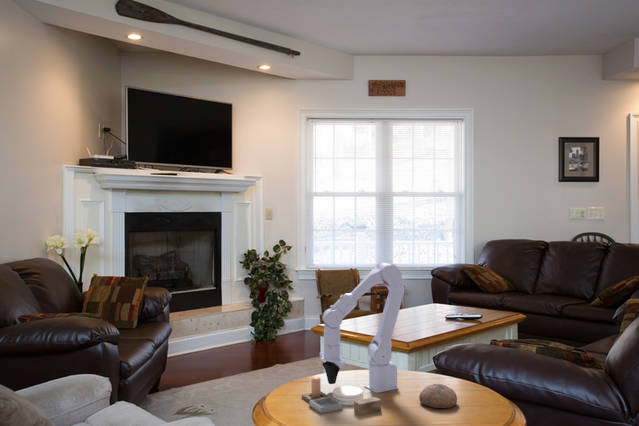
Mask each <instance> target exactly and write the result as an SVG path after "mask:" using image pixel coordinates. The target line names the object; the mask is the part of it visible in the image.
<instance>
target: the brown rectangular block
mask: <svg viewBox="0 0 639 426" xmlns="http://www.w3.org/2000/svg"><path fill="white" fill-rule="evenodd" d="M381 411H382V399H380V397H379V398H378V397H377V396H374V397H368V398H363V400H358V401H354V405H353V412H354V413H355V414H356V415H357V416H363V415H368V414H373V413H377V412H381Z"/></svg>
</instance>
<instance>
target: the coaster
mask: <svg viewBox="0 0 639 426" xmlns="http://www.w3.org/2000/svg"><path fill="white" fill-rule="evenodd" d="M363 394H364V391H363V389H362V388H360V387H359V386H358V387H357V386H353V385H340V386H337V387H335V388H334V389H333V391H332V398H334V399H335V400H337V401H339V402H340V403H342V406H354V401H358V400H363V399H364V395H363Z"/></svg>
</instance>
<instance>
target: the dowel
mask: <svg viewBox="0 0 639 426" xmlns="http://www.w3.org/2000/svg"><path fill="white" fill-rule="evenodd" d="M310 387H311V392H310V393H311V398H313V399H315V398H320V397H321V392H322V391H321V377H320V376H313V377H311V386H310Z"/></svg>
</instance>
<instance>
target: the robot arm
mask: <svg viewBox="0 0 639 426" xmlns="http://www.w3.org/2000/svg"><path fill="white" fill-rule="evenodd" d="M380 284H381V285H382V284H384V285H385V286H386V288H387V290H388V293H387V294H388V295H387V298H386V301H385V303H384V307H383V312H382V314H381V318H380V322H379V325H378V329H377V332H376V334H375V335H374V336H373V339H372V341H371V342H370V344H369V345H368V347H367V353H368V356H369V357H370V359H369V361H368V373H369V374H368V384H364V386H363V387H364V388H366V389H368V390H370V391H372V392H374V393H377V394H378V393H379V394H380V393H383V392H388V391H389V392H390V391H394V390H398V389H399V386H398V369H397V368H398V367H397V365H396V364H395V362H393V361H392V360H391V359H392V355H393V354H392V346H393V343H392V337H393V333H394V329H395V326H396V322H397V318H398V315H399V312H400V308H401V305H402V302H403V298H404V294H405V288H406V287H405V285H404V280H403V272H401V270H400V269H399V267H398V266H397V265H395V264H391V263H388V262H385V261H382V262H379V263H378V264H377V266H376V267H374V268H371V271H369V273H368V274H366V275H365V277H364V278H363V279H362V280H361V281H360V282H359V283H358V284H357V286H356V287H355V288H354V289H353V290H352V291H351V292H348V293H347V292H345V293H344V294H341V295H339V299H338V300H337V301H336V302H335V303H334V304H331V305H329V308H327V309H326V310H325V311H323V313H322V316H321V319H322V321H323V322H324V324H323V328H324V329H323V351H321V352H319V358H320V360H321V361H322V366H323V370H325V371H324V372H325V376H326V379H327V382H328V384H329V385H334V384H336V382H337V378H338V374H339V371H340V369H342V368H343V369H344V368H346V361H345V360H344V359H343V358H342V356H341V325H342V323H343V319H344V318H345V317H346V316H348V315H349V314H350V313H351V312H352V311H353V310H354V309H355V308H356V306H358V300H359V299H360V298H361V297H362V296H363V295H365V294H366V293H367V292H368V291H369V290H370V289H372V287H373V286H375V285H380Z"/></svg>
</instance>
